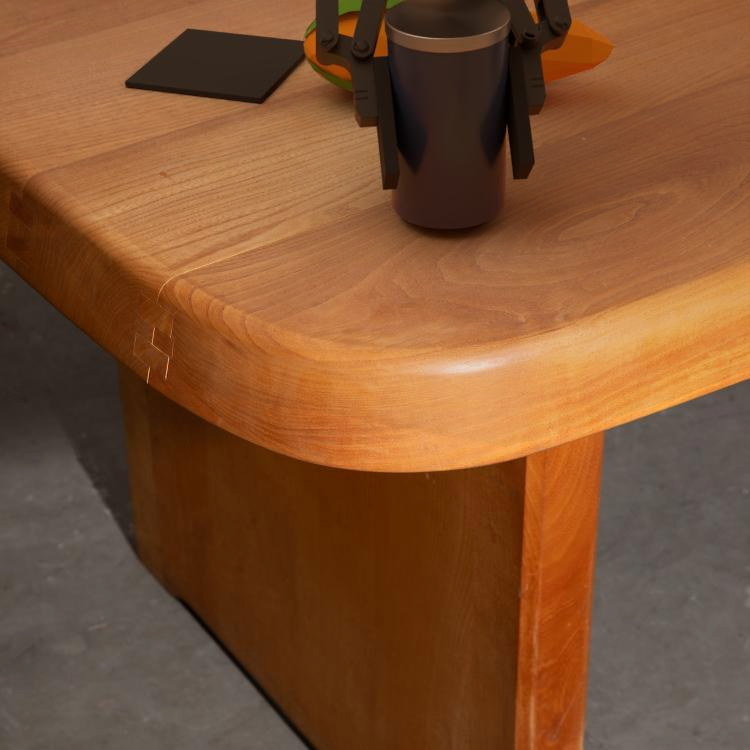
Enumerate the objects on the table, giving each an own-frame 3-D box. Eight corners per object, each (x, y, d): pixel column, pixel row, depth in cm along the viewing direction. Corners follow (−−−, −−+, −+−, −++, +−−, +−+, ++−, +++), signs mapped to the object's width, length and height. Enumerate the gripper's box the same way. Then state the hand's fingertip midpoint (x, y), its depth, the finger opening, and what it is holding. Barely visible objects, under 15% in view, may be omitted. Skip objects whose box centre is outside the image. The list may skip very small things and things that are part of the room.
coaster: (315, 47, 103) (315, 41, 103) (261, 103, 96) (260, 97, 95) (187, 33, 106) (187, 28, 106) (125, 87, 98) (124, 81, 98)
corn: (307, -40, 95) (615, -39, 93) (314, 66, 100) (607, 69, 98) (293, 8, 89) (620, 10, 88) (301, 119, 94) (612, 123, 92)
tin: (519, 183, 84) (524, -2, 77) (489, 237, 79) (491, 44, 72) (410, 169, 86) (407, -12, 79) (374, 221, 80) (367, 31, 74)
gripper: (572, -189, 86) (621, 184, 81) (243, -169, 84) (277, 211, 80) (597, -268, 78) (653, 138, 74) (238, -247, 77) (274, 167, 73)
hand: (457, 175), depth 77 cm, fingers closed on tin, 6 cm apart
